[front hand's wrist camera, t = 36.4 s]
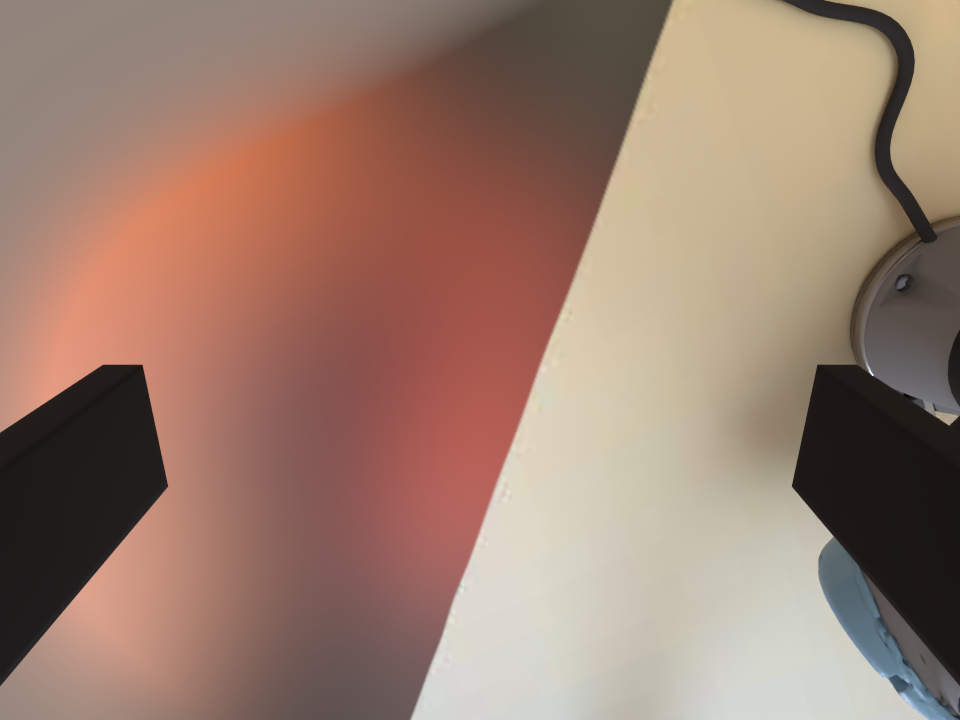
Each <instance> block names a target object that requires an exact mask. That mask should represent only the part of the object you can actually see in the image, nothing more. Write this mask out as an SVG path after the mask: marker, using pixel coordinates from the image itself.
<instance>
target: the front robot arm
mask: <svg viewBox="0 0 960 720" xmlns="http://www.w3.org/2000/svg"><path fill="white" fill-rule="evenodd" d="M783 1H785V2H788V3H790V4H792V5H794V6H796V7H798V8H800V9H803V10H805V11H807V12H810V13H813V14H816V15H819V16H824V17H828V18H834V19H839V20H846V21H852V22H858V23H862V24H867V25H870V26H873V27H875V28H877V29H879V30H880V31H881V32H883V33H884V34H885V35H886V36H887V37H888V38H889V39H890V40H891V42H892V44H893V46H894V47H895V50H896V53H897V56H898V63H899V68H898V76H897V80H896V84H895V86H894V89H893V92H892V95H891V97H890V100H889V102H888V105H887V107H886V110H885V112H884V115H883V117H882V120H881V123H880V126H879V129H878V133H877V138H876V145H875V158H876V165H877V169H878V172H879V174H880V176H881V178H882V180H883V181H884V183H885V184H886V186H887V187H888V188H889V190H890V191H891V192H892V193H893V194H894V196H895V197H896V198H897V200H898V201H899V203H900V204H901V206H902V207H903V209H904V211H905V212H906V214H907V216H908V218H909V219H910V221H911V223H912V224H913V226H914V228H915V230H916V231H917V232H915V233H914V234H912V235H911V236H909V237H907V238H906V239H905V240H903V241H902V242H901V243H899V244H898V245H897V246H895V247H894V248H893V249H892V250H891V251H890V252H889V253H888V254H887V255H886V256H885V257H884V258H883V259H882V260H881V261H880V262H879V263H878V265H877V266H876V267H875V268H874V269H873V271H872V272H871V274H870V275H869V277H868V278H867V280H866V282H865V283H864V285H863V287H862V289H861V291H860V293H859V295H858V298H857V300H856V303H855V306H854V310H853V314H852V320H851V331H850V333H851V344H852V350H853V353H854V356H855V359H856V361H857V364H858V365H859V366H858V365H817V370H816V374H815V379H814V384H813V389H812V393H811V398H810V403H809V408H808V412H807V417H806V422H805V427H804V431H803V436H802V441H801V446H800V450H799V455H798V460H797V465H796V469H795V474H794V479H793V484H792V487H793V488H794V490H795V491H796V492H797V493H798V494H799V496H800V497H801V498H802V499H803V500H804V501H805V503H806V504H807V505H808V506H809V507H810V509H811V510H812V511H813V512H814V513H815V515H816V516H817V517H818V518H819V519H820V521H821V522H822V523H823V524H824V525H825V526H826V528H827V529H828V530H829V531H830V532H831V534H832V535H833V536H834V537H833V538H832V539H831V540H830V541H829V542H828V543H827V544H826V545H825V547H824V548H823V550H822V551H821V553H820V556H819V570H818V575H819V580H820V584H821V587H822V590H823V592H824V595H825V597H826V599H827V601H828V603H829V605H830V607H831V609H832V611H833V613H834V614H835V616H836V618H837V619H838V621H839V622H840V624H841V625H842V627H843V629H844V630H845V631H846V633H847V634H848V636H849V637H850V639H851V640H852V641H853V643H854V644H855V645H856V647H857V648H858V649H859V651H860V652H861V653H862V655H863V656H864V657H865V658H866V659H867V661H868V662H869V663H870V664H871V666H872V667H873V668H874V669H875V670H876V671H877V672H878V673H879V674H880V675H881V676H882V677H886V678H888V679H889V680H890V682H891V684H892V685H893V687H894V688H895V690H896V691H897V692H898V694H899V695H900V696H901V697H902V698H903V699H904V700H905V701H907V702H908V703H909V704H910V705H911V706H912V707H913V708H914V709H916V710H917V711H918V712H919V713H921V714H922V715H923V716H925V717H926V718H928V719H929V720H960V216H959V217H954V218H949V219H945V220H942V221H939V222H937V223H934V224H932V225H930V223H929V222H928V220H927V218H926V216H925V215H924V213H923V211H922V210H921V208H920V206H919V204H918V203H917V201H916V199H915V198H914V196H913V195H912V193H911V192H910V190H909V189H908V188H907V187H906V185H905V184H904V183H903V182H902V180H901V179H900V178H899V176H898V175H897V173H896V172H895V170H894V168H893V165H892V162H891V157H890V143H891V137H892V133H893V129H894V126H895V123H896V120H897V118H898V115H899V113H900V110H901V108H902V106H903V103H904V101H905V98H906V96H907V93H908V91H909V88H910V85H911V81H912V77H913V73H914V64H915V60H914V50H913V47H912V44H911V41H910V39H909V37H908V35H907V33H906V32H905V30H904V29H903V28H902V27H901V26H900V24H899V23H898V22H896V21H895V20H894V19H892V18H891V17H889V16H887V15H885V14H883V13H881V12H878V11H875V10H872V9H868V8H864V7H858V6H852V5H846V4H840V3H834V2H829V1H825V0H783ZM925 409H926V410H925ZM935 411H938V412H943V413H949V414H954V415H959V417H958V418H957V419H956V420H955V421H954V422H953V423H952V424H951V425H947V424H946V423H944V422H943V421H941V420H940V419H938V418H937V417H936V415H935ZM167 487H168V484H167V479H166V474H165V470H164V465H163V460H162V455H161V451H160V446H159V441H158V436H157V431H156V427H155V422H154V417H153V413H152V408H151V403H150V398H149V394H148V389H147V384H146V379H145V375H144V370H143V365H102V366H100V367H99V368H97V369H96V370H94V371H93V372H91V373H90V374H88V375H87V376H85V377H84V378H82V379H81V380H79V381H78V382H76V383H75V384H73V385H72V386H70V387H69V388H67V389H66V390H64V391H63V392H61V393H60V394H58V395H57V396H55V397H54V398H52V399H51V400H49V401H48V402H46V403H45V404H43V405H41V406H40V407H39V408H37V409H35V410H34V411H33V412H31V413H29V414H28V415H26V416H25V417H23V418H22V419H20V420H19V421H17V422H16V423H14V424H13V425H11V426H10V427H8V428H7V429H5V430H4V431H2V432H1V433H0V686H1V685H2V683H3V682H4V681H5V680H6V679H7V677H8V676H9V675H10V674H11V673H12V672H13V670H14V669H15V668H16V667H17V666H18V664H19V663H20V662H21V661H22V660H23V658H24V657H25V656H26V655H27V654H28V652H29V651H30V650H31V649H32V648H33V647H34V645H35V644H36V643H37V642H38V641H39V639H40V638H41V637H42V636H43V635H44V633H45V632H46V631H47V630H48V629H49V627H50V626H51V625H52V624H53V623H54V622H55V620H56V619H57V618H58V617H59V616H60V614H61V613H62V612H63V611H64V610H65V609H66V607H67V606H68V605H69V604H70V603H71V601H72V600H73V599H74V598H75V597H76V595H77V594H78V593H79V592H80V591H81V589H82V588H83V587H84V586H85V585H86V584H87V582H88V581H89V580H90V579H91V578H92V576H93V575H94V574H95V573H96V572H97V570H98V569H99V568H100V567H101V566H102V565H103V563H104V562H105V561H106V560H107V558H108V557H109V556H110V555H111V554H112V553H113V551H114V550H115V549H116V548H117V547H118V545H119V544H120V543H121V542H122V541H123V540H124V538H125V537H126V536H127V535H128V534H129V532H130V531H131V530H132V529H133V528H134V526H135V525H136V524H137V523H138V522H139V521H140V519H141V518H142V517H143V516H144V515H145V513H146V512H147V511H148V510H149V509H150V507H151V506H152V505H153V504H154V503H155V501H156V500H157V499H158V498H159V497H160V496H161V494H162V493H163V492H164V491H165V490H166V488H167Z"/></svg>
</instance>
